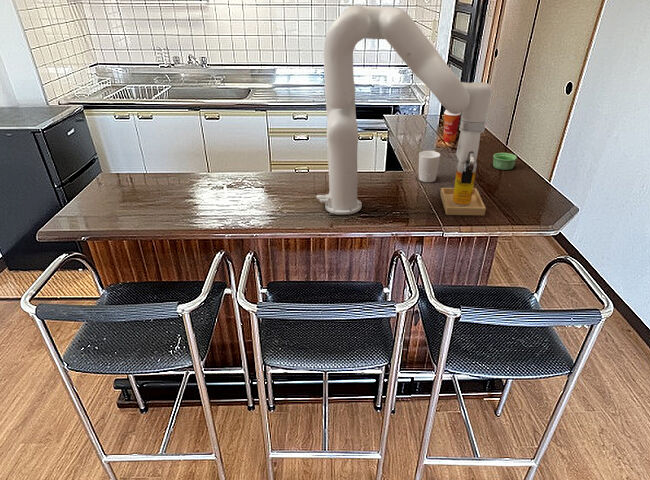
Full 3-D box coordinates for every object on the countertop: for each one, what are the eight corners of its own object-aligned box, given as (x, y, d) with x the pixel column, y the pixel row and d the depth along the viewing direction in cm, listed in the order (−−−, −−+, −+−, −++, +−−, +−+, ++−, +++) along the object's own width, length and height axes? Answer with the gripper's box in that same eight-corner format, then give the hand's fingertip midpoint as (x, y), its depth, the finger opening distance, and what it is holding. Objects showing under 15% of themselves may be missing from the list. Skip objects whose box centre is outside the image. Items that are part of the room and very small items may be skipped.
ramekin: (517, 170, 175) (520, 159, 173) (495, 170, 175) (497, 160, 173) (510, 162, 183) (512, 152, 180) (489, 163, 183) (490, 152, 180)
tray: (446, 214, 144) (447, 207, 143) (440, 194, 158) (441, 187, 156) (484, 215, 143) (485, 208, 142) (475, 194, 157) (476, 188, 155)
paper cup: (438, 138, 212) (441, 109, 204) (452, 137, 214) (455, 107, 206) (446, 143, 206) (449, 113, 198) (460, 141, 207) (464, 111, 200)
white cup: (436, 175, 173) (439, 150, 167) (438, 183, 166) (441, 157, 161) (416, 175, 174) (418, 150, 168) (417, 182, 167) (419, 157, 162)
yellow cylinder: (457, 207, 147) (463, 164, 139) (449, 200, 152) (454, 158, 144) (473, 205, 148) (481, 162, 140) (464, 198, 153) (471, 156, 145)
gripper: (455, 117, 143) (448, 167, 153) (464, 133, 129) (455, 187, 138) (479, 118, 143) (470, 168, 152) (490, 134, 128) (479, 188, 138)
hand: (463, 177), depth 145 cm, fingers open, 9 cm apart
